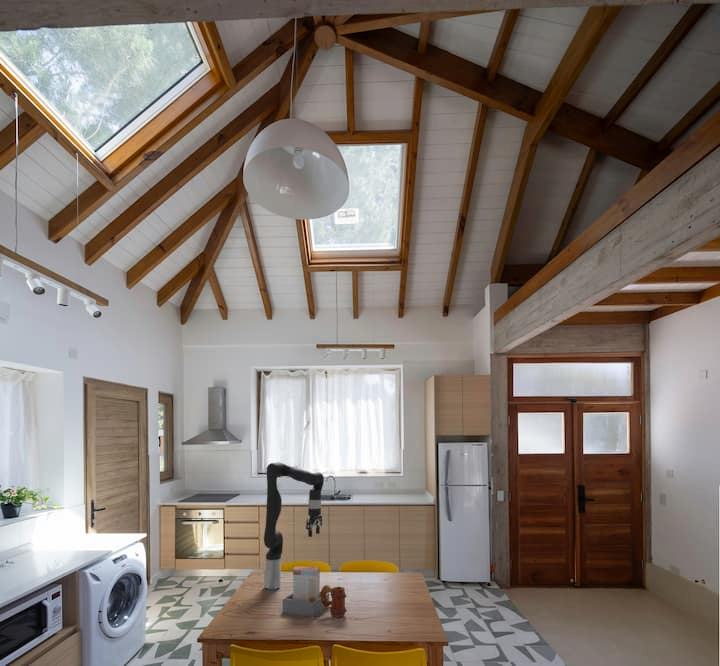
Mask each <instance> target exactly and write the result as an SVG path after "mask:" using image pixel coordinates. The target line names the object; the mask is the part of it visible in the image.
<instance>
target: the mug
mask: <svg viewBox="0 0 720 666" xmlns="http://www.w3.org/2000/svg"><path fill="white" fill-rule="evenodd" d="M320 592H321V593H320V597H321V602H322V603H323V605H324V606H325V607H328V606H329V607H328V608H329V611H330V615H331V616H332V618H336V619H340V618H342V617H345V613H347V611H348V610H347V608H346V599H345V598H347V595H346V592H345V587H343V586H334V587H331V586H330V585H329V584H325V585H323V587H321V590H320ZM327 593H329V596H330V597H331V600H329V601H328V600H327V598H326V594H327Z"/></svg>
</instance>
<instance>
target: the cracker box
mask: <svg viewBox="0 0 720 666" xmlns="http://www.w3.org/2000/svg"><path fill="white" fill-rule="evenodd" d="M320 570H321V569H320V566H301V565H300V566H298V565H297V566H294V567H293V570H292V575H293V576H292V577H293V578H292V593H293V600H298V601H304V602H310V603H313V602H314V601H316V600H318V599H319V598H320V592H321V590H320V589H321V588H320V586H321V585H320V582H321V580H320V579H321V576H320V575H321V573H320Z"/></svg>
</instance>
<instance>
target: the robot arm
mask: <svg viewBox="0 0 720 666" xmlns="http://www.w3.org/2000/svg"><path fill="white" fill-rule="evenodd" d="M281 477H285V478H286V477H288V478H291V479H293V480H295V481H296V482H302V483H304V484H307V485H309V486H313V487H312V488H311V489H310V490H309V493H308V494H309V495H308V497H309V498H308V509H307V511H308V512H307V513H308V514H307V515H308V516H309V518H306V522H305V524H306V525H305V526H306V527H305V529H306V530H308V532H307V535H308V536H307V537H309V538H312V537H313V528H315V534H317V535H319V534H320V533H321V530H320V529H321V527H322V525H323V515H322V490H323V487H324V481H325V480H324V479H325V478H324V474H323V473H321V472H319V471H318V472H310V471H308V470H306V469H301V468H296V467H291V466H290V465H287V464H285V463H282V462H281V461H279V462H272V463H268V465H267V468H266V484H267V487H266V488H267V489H266V493H267V494H266V495H267V496H266V514H265V515H266V516H265V527H264V533H263V543H264V546H265V548H266V549H267V548H268V549H269V550H268V551H267V552H266V554H265V571H264V572H263V588H264V587H265V588H264V589H266V588H267V589H266V590H269V589H274V590H278V589H277V588H279V589H280V588H281V577H282V576H281V572H282V571H281V569H282V567H281V564H282V560H281V559H282V554H283V545H284V544H283V543H284V536H283V534H282V533H281V531H279V530H277V529H276V527H277V523H278V520H279V519H280V518H279V517H280V515H281V512H282V496H281V494H280V492H279V489H278V485H277V484H278V481H277V480H278V478H281Z"/></svg>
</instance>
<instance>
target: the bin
mask: <svg viewBox="0 0 720 666" xmlns="http://www.w3.org/2000/svg"><path fill="white" fill-rule="evenodd" d="M320 593H321V591H320ZM326 598H327V600H328V601H330V592H329V593H327V594H326ZM325 608H326V609H328V608H327V607H325V606H324V605H323V603H322V602H321V597H320V598H319V599H318V600H316V601H314V602H313V603H310V602H304V601H298V600H293V592H292V593H291V594H288V595H287V596H284V597H283V598H282V613H284V612H285V614H290V615H295V614H297V615H296V616H301V615H302V616H301V617H306V616H309V617H308V618H312V617H313V618H314V617H315V615H316V616H317V615H318V613H319V614H320V613H321V611H322V612H323V611H325V610H326V609H325ZM324 609H325V610H324Z"/></svg>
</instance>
